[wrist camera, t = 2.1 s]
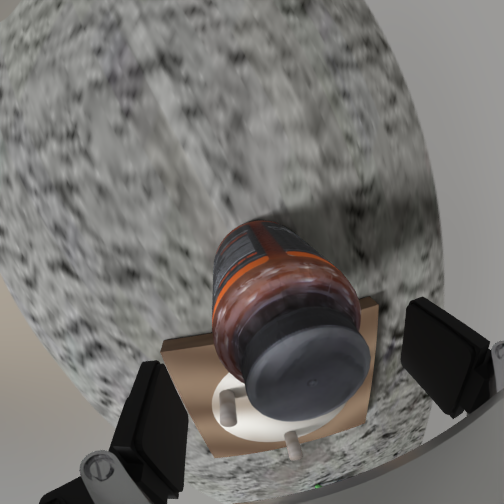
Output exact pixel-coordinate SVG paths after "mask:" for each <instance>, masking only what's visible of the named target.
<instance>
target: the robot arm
mask: <svg viewBox="0 0 504 504" xmlns="http://www.w3.org/2000/svg"><path fill="white" fill-rule="evenodd" d="M489 344H490V341H488V340H487V339H486V338H484V337H483V336H481V335H480V334H478V333H477V332H476V331H474V330H473V329H471V328H470V327H468V326H467V325H465V324H464V323H462V322H461V321H460V320H458V319H456V318H455V317H454V316H452V315H451V314H449V313H447V312H446V311H445V310H443V309H441V308H440V307H438V306H437V305H435V304H434V303H432V302H431V301H429V300H428V299H426V298H424V297H420V298H417V299H415V300H412V301H410V303H409V305H408V306H407V308H406V318H405V328H404V337H403V345H402V352H401V364H402V366H403V367H404V368H405V369H406V370H407V371H408V373H409V374H410V375H411V376H412V377H413V378H414V379H415V380H416V381H417V383H418V384H419V385H420V386H421V387H422V388H423V389H424V390H425V392H426V393H427V394H428V395H429V396H430V397H431V398H432V399H433V401H434V402H435V403H436V404H437V405H438V406H439V407H440V409H441V410H442V411H443V412H444V413H445V414H447V415H450V416H451V417H452V418H453V419H454V418H456V417H457V416H459V415H460V414H461V413H463V411H464V410H465V411H466V412H467V417H465V418H464V419H463V420H461V421H460V422H458V423H457V424H455V425H454V426H452V427H451V428H449V429H448V430H447V431H445V432H443V433H441V434H440V435H438V436H437V437H435V438H433V439H432V440H430V441H428V442H426V443H425V444H423V445H421V446H419V447H417V448H415V449H414V450H412V451H410V452H408V453H406V454H404V455H402V456H400V457H398V458H396V459H394V460H392V461H389V462H387V463H385V464H383V465H381V466H378V467H376V468H374V469H371V470H369V471H366V472H364V473H361V474H358V475H356V476H353V477H350V478H347V479H345V480H342V481H339V482H336V483H332V484H329V485H326V486H322V487H319V488H315V489H312V490H308V491H304V492H300V493H296V494H291V495H287V496H282V497H277V498H271V499H265V500H259V501H252V502H244V503H234V504H504V341H499V342H497V343H495V344H494V345H493V347H492V349H491V350H490V349H488V347H489ZM187 432H188V414H187V411H186V409H185V407H184V405H183V403H182V401H181V399H180V397H179V395H178V393H177V391H176V389H175V387H174V384H173V382H172V380H171V378H170V376H169V373H168V371H167V369H166V366H165V365H164V364H160V362H159V361H157V360H155V361H146V362H142V364H141V366H140V369H139V371H138V374H137V377H136V379H135V382H134V385H133V387H132V390H131V393H130V395H129V397H128V398H127V400H126V402H125V404H124V407H123V410H122V413H121V415H120V418H119V421H118V424H117V427H116V430H115V433H114V436H113V439H112V442H111V445H110V448H109V451H104V450H100V451H95V452H92V453H90V454H88V455H87V456H86V457H85V458H84V459H83V460H82V462H81V464H80V470H79V471H80V475H81V476H80V477H78V478H76V479H74V480H72V481H71V482H69V483H67V484H65V485H63V486H61V487H59V488H57V489H55V490H53V491H51V492H49V493H47V494H46V495H44V496H43V497H42V498H41V500H40V502H39V504H167V499H178V497H179V492H182V491H183V487H184V471H185V456H186V444H187Z"/></svg>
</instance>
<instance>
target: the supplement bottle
mask: <svg viewBox="0 0 504 504" xmlns="http://www.w3.org/2000/svg"><path fill="white" fill-rule="evenodd" d="M360 324H361V308H360V303H359V300H358V297H357V294H356V292H355V290H354V288H353V287H352V285H351V284H350V282H349V281H348V280H347V278H346V277H345V276H344V275H343V274H342V273H341V272H340V271H339V270H338V269H337V268H336V267H335V266H334V265H332V264H331V263H330V262H329V261H328V260H326V259H325V258H324V257H323V256H322V255H321V254H319V253H318V252H317V251H316V250H315V249H313V248H312V247H311V246H310V245H309V244H307V243H306V242H305V241H304V240H302V239H301V238H300V237H299V236H298V235H296V234H295V233H294V232H292V231H291V230H290V229H288V228H286V227H285V226H283V225H280V224H278V223H276V222H272V221H252V222H248V223H245V224H242V225H240V226H238V227H237V228H235V229H234V230H232V231H231V232H230V233H229V234H228V235H227V236H226V237H225V238H224V239H223V241H222V242H221V244H220V246H219V247H218V250H217V253H216V256H215V260H214V270H213V306H212V332H213V341H214V346H215V349H216V352H217V355H218V357H219V359H220V361H221V363H222V364H223V365H224V367H225V368H226V369H227V370H228V372H229V373H230V374H232V375H233V376H234V377H235V378H236V379H237V380H239V381H240V382H242V383H244V384H245V389H246V393H247V396H248V399H249V401H250V403H251V405H252V406H253V407H254V408H255V409H256V410H257V411H259V412H260V413H261V414H262V415H265V416H267V417H269V418H272V419H275V420H279V421H286V422H295V421H304V420H310V419H314V418H317V417H319V416H322V415H325V414H328V413H330V412H331V411H333V410H335V409H337V408H338V407H340V406H341V405H343V404H344V403H345V402H346V401H348V400H349V399H350V398H351V397H352V396H353V395H354V394H355V393H356V391H357V390H358V389H359V387H360V386H361V385H362V384H363V382H364V380H365V378H366V376H367V374H368V371H369V369H370V361H371V356H370V350H369V346H368V345H367V343H366V341H365V339H364V338H363V336H362V335H361V334H360V333H359V330H360Z"/></svg>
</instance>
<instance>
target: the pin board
mask: <svg viewBox="0 0 504 504" xmlns="http://www.w3.org/2000/svg"><path fill="white" fill-rule="evenodd" d="M359 303H360V308H361V324H360V330H359V333H360V334H361V335H362V336H363V338H364V339H365V341H366V343H367V345H368V346H369V350H370V356H371V361H370V369H369V371H368V374H367V376H366V378H365V380H364V382H363V384H362V385H361V386H360V387H359V389H358V390H357V391H356V393H355V394H354V395H353V396H352V397H351V398H350V399H349V400H348V401H346V402H345V403H344V404H343V405H341V406H340V407H338V408H337V409H335V410H333V411H331V412H330V413H328V414H325V415H322V416H319V417H317V418H314V419H310V420H304V421H295V422H286V421H279V420H275V419H272V418H269V417H267V416H265V415H262V414H261V413H260V412H259V411H257V410H256V409H255V408H254V407H253V406H252V405H251V403H250V401H249V399H248V396H247V393H246V389H245V384H244V383H242V382H240V381H239V380H237V379H236V378H235V377H234V376H233V375H232V374H230V373H229V372H228V370H227V369H226V368H225V367H224V365H223V364H222V363H221V361H220V359H219V357H218V355H217V352H216V349H215V346H214V341H213V333H209V334H203V335H197V336H191V337H184V338H178V339H171V340H164V341H163V345H162V348H161V351H160V353H161V355H162V357H163V360H164V362H165V364H166V366H167V369H168V371H169V373H170V375H171V377H172V380H173V382H174V384H175V386H176V388H177V390H178V392H179V394H180V396H181V398H182V400H183V402H184V404H185V406H186V408H187V410H188V412H189V414H190V416H191V418H192V419H193V421H194V423H195V425H196V427H197V429H198V430H199V432H200V434H201V436H202V437H203V439H204V441H205V443H206V444H207V446H208V448H209V449H210V451H211V453H212V454H213V456H214V458H221V457H230V456H238V455H245V454H252V453H258V452H263V451H269V450H274V449H279V448H283V447H287V449H288V453H289V457H290V460H299V459H301V458H302V457H303V453H302V450H301V447H300V444H301V443H304V442H308V441H312V440H316V439H319V438H323V437H326V436H329V435H332V434H335V433H339V432H342V431H345V430H347V429H350V428H353V427H356V426H359V425H361V424H364V423H365V420H366V415H367V409H368V403H369V397H370V391H371V384H372V377H373V369H374V361H375V351H376V340H377V327H378V309H379V304H377V303H376V302H375V301H374V300H373V299H372V298H371V297H370V296H369V297H366V298H362V299H359Z"/></svg>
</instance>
